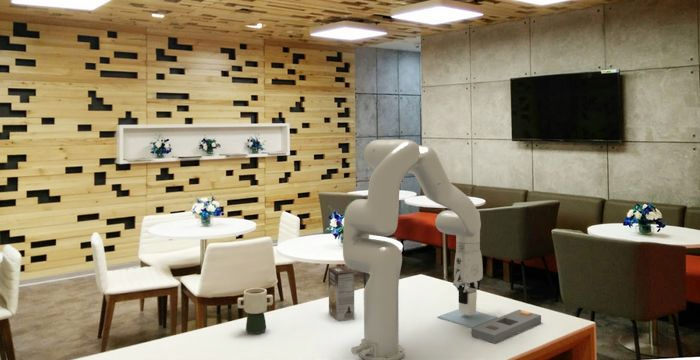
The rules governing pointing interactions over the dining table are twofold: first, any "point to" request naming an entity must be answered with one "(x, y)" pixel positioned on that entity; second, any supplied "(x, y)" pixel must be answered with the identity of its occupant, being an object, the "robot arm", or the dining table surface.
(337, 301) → the coffee box
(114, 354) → the dining table surface
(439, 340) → the dining table surface
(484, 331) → the power strip
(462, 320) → the slate mat
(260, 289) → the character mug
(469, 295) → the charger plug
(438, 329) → the dining table surface
